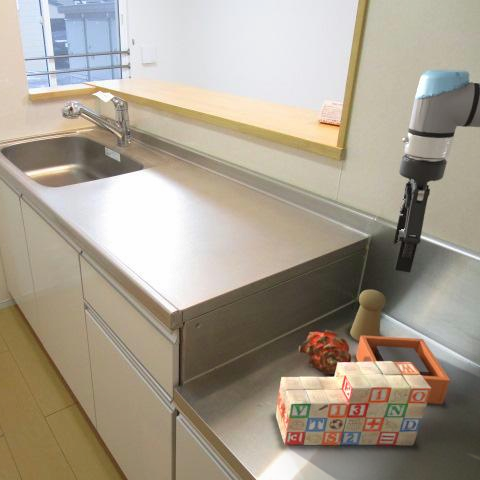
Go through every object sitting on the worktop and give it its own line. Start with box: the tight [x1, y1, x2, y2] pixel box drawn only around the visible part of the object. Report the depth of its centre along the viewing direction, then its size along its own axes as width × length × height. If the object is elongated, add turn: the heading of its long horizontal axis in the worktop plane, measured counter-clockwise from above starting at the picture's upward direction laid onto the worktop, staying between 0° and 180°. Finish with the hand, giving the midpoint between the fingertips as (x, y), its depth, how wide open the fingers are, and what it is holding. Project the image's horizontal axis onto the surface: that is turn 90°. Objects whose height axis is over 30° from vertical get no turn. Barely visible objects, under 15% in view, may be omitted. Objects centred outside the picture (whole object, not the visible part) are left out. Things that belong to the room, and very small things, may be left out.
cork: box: [349, 289, 386, 342], centre depth 98 cm, size 6×6×11 cm
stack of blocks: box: [275, 361, 431, 446], centre depth 74 cm, size 21×6×12 cm, turn 90°
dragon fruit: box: [298, 329, 352, 375], centre depth 90 cm, size 8×8×12 cm
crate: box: [355, 335, 451, 405], centre depth 87 cm, size 12×12×6 cm
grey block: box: [375, 346, 429, 376], centre depth 87 cm, size 7×7×4 cm
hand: (401, 256), depth 94 cm, fingers open, 13 cm apart
